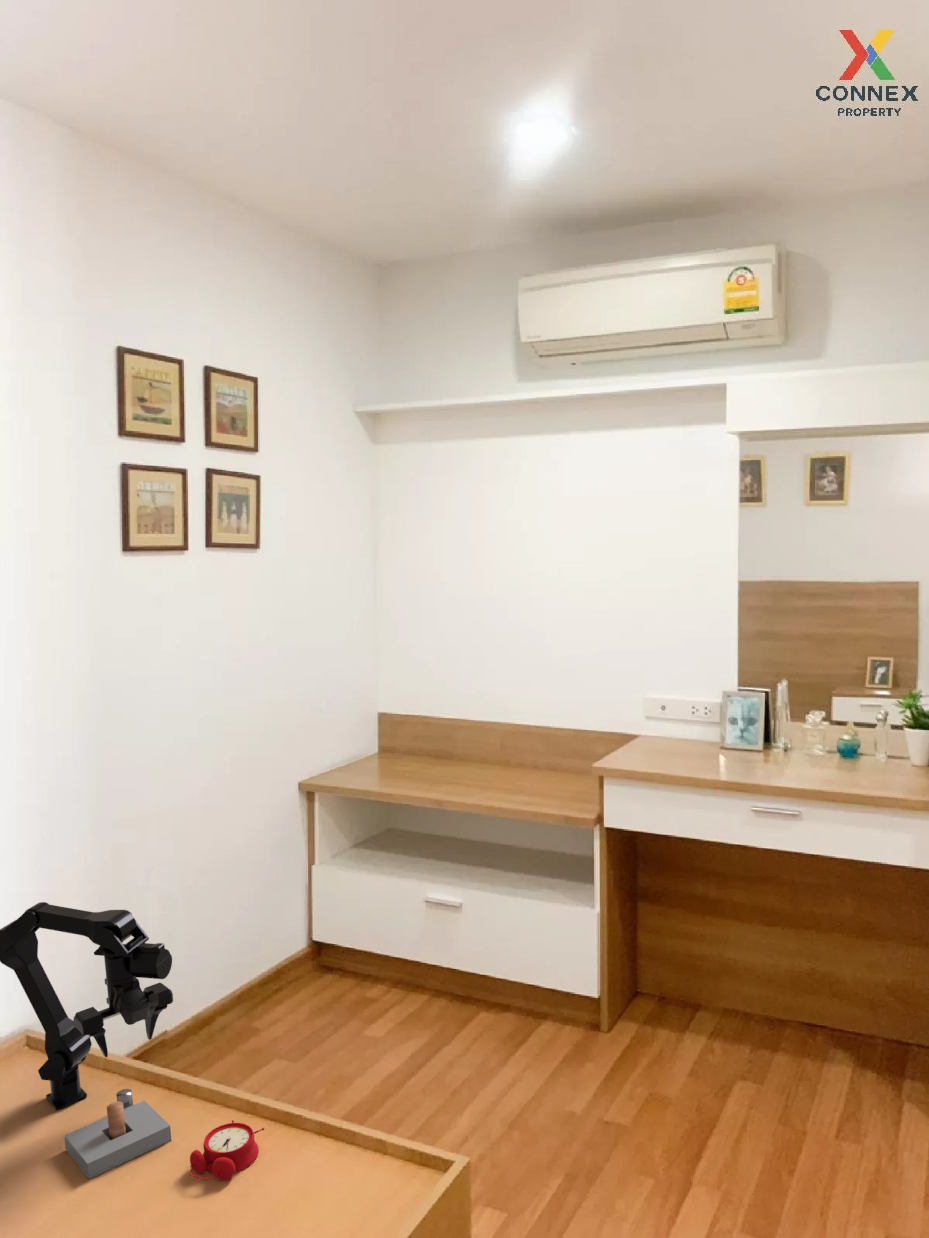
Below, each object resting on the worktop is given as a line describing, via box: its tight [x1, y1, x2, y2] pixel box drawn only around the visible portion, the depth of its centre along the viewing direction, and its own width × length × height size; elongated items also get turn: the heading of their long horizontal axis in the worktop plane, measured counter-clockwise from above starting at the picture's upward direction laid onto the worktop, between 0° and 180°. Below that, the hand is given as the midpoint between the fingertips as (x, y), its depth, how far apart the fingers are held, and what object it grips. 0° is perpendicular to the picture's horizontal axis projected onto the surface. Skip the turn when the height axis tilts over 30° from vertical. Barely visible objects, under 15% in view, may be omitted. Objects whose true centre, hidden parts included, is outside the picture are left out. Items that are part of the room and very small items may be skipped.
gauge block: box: [63, 1100, 172, 1180], centre depth 194 cm, size 12×16×3 cm
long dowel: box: [106, 1101, 126, 1140], centre depth 193 cm, size 3×3×8 cm
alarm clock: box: [189, 1120, 265, 1182], centre depth 187 cm, size 10×6×15 cm
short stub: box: [115, 1088, 134, 1109], centre depth 205 cm, size 3×3×4 cm
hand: (128, 1047), depth 206 cm, fingers open, 9 cm apart
